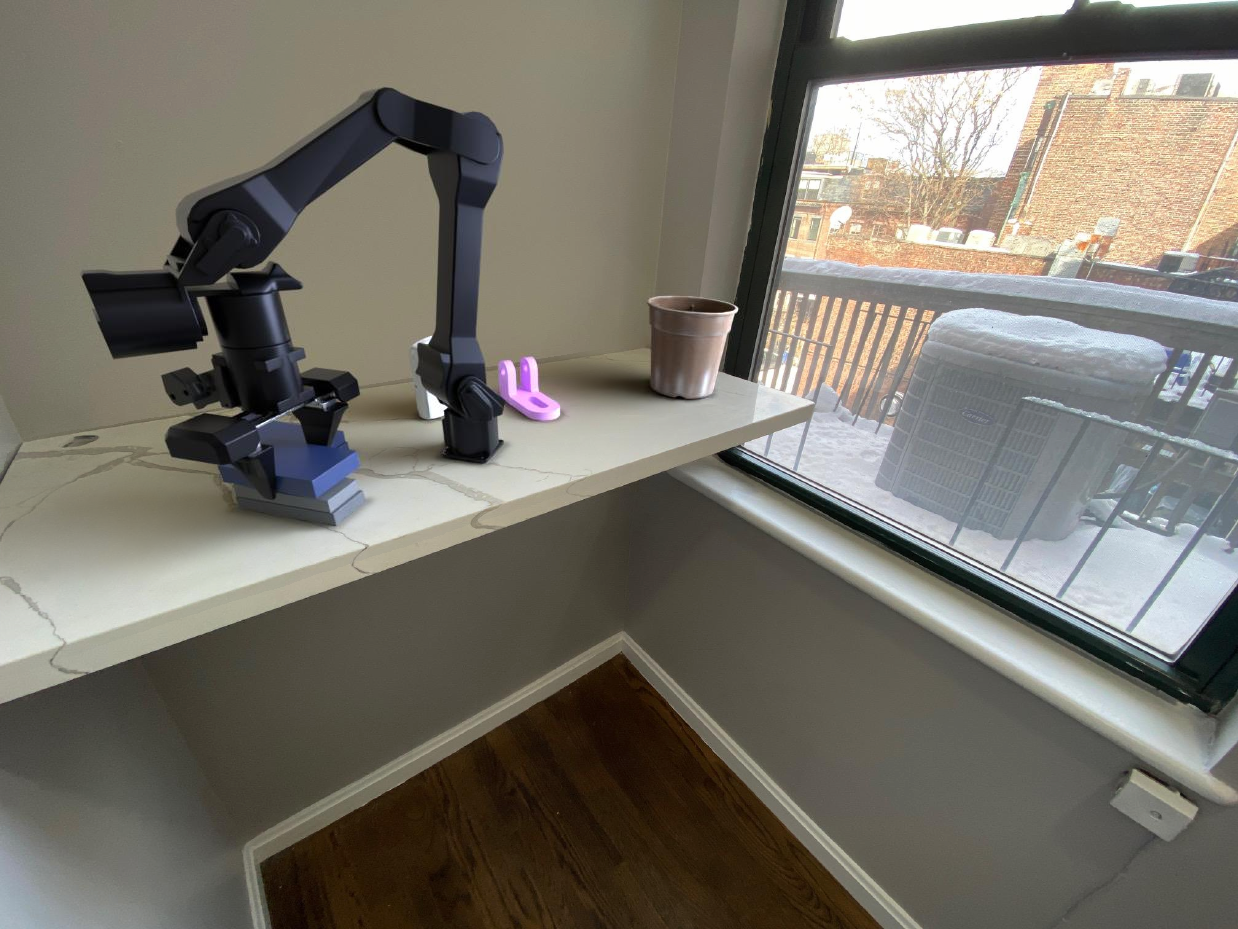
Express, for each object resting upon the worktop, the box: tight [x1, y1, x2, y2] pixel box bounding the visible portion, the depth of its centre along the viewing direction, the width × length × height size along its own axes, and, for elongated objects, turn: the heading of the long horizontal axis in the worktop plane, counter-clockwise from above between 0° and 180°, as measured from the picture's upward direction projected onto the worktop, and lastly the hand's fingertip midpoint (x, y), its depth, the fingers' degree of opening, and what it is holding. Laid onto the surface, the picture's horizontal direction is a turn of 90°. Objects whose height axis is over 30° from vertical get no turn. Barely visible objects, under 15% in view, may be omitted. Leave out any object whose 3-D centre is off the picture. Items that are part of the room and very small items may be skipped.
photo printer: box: [408, 335, 447, 420], centre depth 80 cm, size 10×4×12 cm, turn 140°
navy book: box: [216, 438, 361, 498], centre depth 55 cm, size 11×7×2 cm, turn 79°
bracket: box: [497, 356, 561, 422], centre depth 85 cm, size 13×6×7 cm, turn 37°
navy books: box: [257, 420, 350, 450], centre depth 66 cm, size 11×7×3 cm, turn 79°
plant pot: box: [646, 295, 739, 400], centre depth 95 cm, size 16×16×16 cm
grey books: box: [231, 476, 366, 526], centre depth 57 cm, size 12×5×3 cm, turn 79°
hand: (296, 481), depth 56 cm, fingers closed on navy book, 7 cm apart
